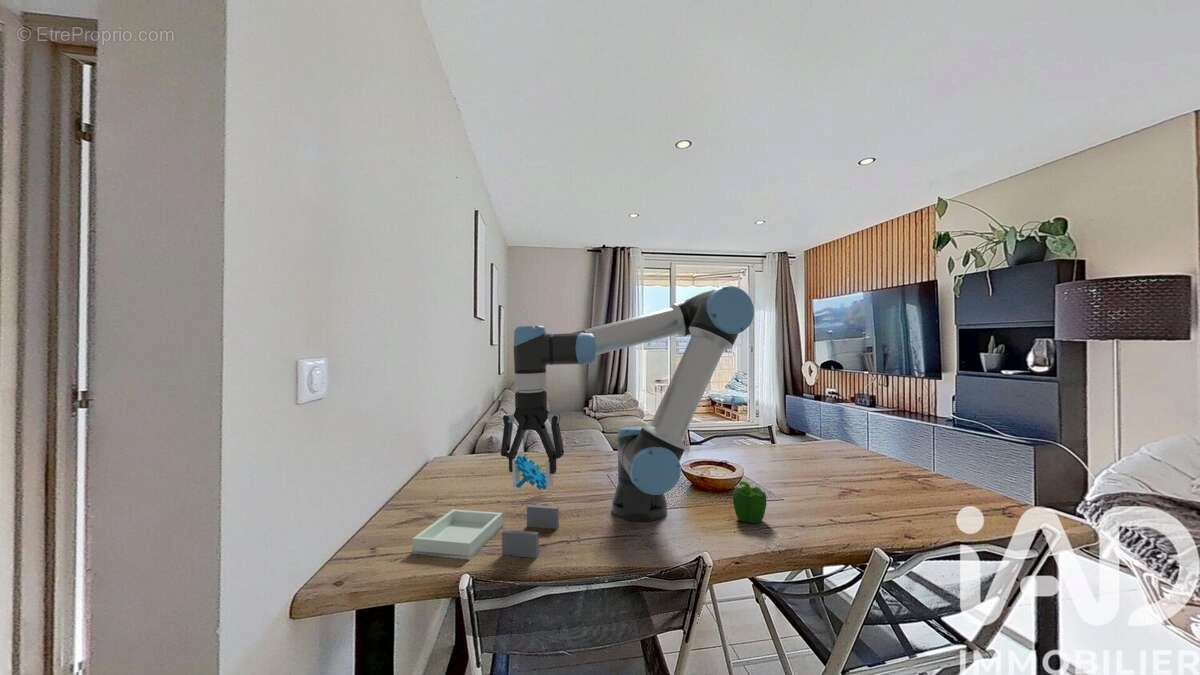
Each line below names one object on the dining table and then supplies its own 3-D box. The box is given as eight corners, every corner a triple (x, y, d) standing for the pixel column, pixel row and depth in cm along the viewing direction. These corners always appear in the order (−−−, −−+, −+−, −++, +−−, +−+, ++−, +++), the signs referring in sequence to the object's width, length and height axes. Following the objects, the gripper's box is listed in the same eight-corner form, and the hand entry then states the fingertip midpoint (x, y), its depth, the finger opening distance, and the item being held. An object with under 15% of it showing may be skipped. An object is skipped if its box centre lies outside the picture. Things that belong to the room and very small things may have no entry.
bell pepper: (769, 517, 116) (768, 479, 116) (764, 529, 108) (764, 488, 108) (736, 511, 120) (735, 474, 120) (730, 522, 112) (729, 483, 112)
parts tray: (503, 526, 112) (502, 512, 112) (470, 559, 95) (469, 543, 95) (453, 522, 114) (452, 509, 114) (412, 554, 98) (412, 538, 98)
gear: (541, 489, 98) (513, 455, 100) (523, 507, 98) (495, 474, 100) (556, 480, 108) (530, 450, 111) (540, 497, 109) (514, 466, 111)
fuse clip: (558, 526, 111) (558, 506, 111) (536, 558, 95) (536, 535, 95) (529, 524, 113) (528, 504, 113) (502, 554, 97) (501, 532, 97)
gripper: (576, 388, 106) (578, 483, 106) (497, 388, 110) (499, 479, 110) (567, 392, 99) (570, 493, 98) (483, 392, 103) (485, 489, 103)
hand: (533, 486), depth 104 cm, fingers closed on gear, 8 cm apart
